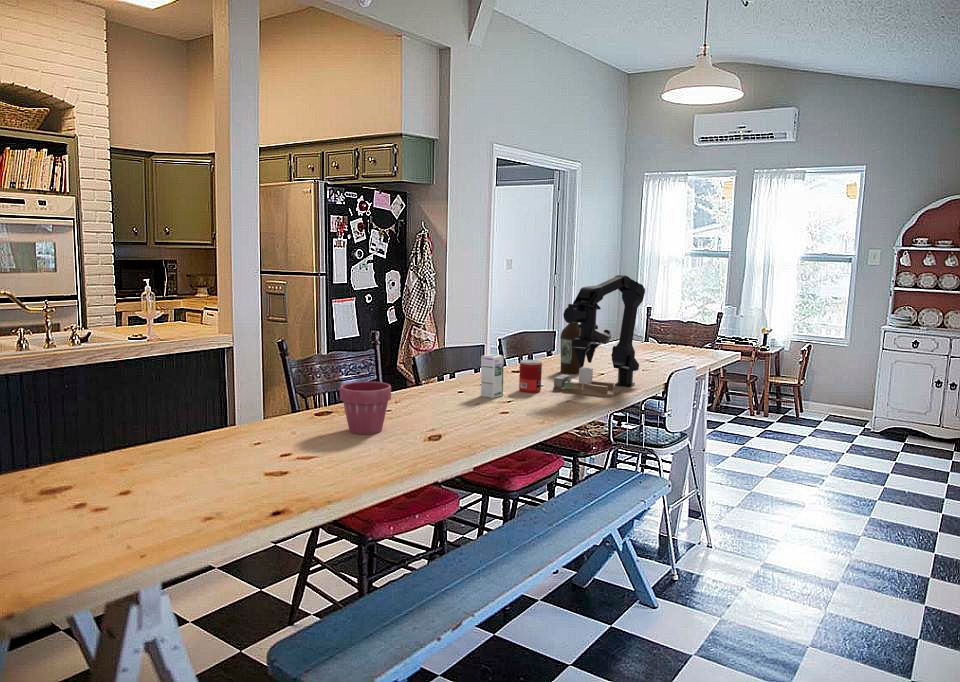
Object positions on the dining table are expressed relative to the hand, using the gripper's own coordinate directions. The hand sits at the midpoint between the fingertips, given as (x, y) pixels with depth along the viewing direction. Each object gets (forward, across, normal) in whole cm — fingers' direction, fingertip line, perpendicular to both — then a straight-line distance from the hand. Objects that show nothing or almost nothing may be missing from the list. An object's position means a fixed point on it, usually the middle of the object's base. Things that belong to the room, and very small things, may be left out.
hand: (585, 364), depth 263 cm
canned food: (+10, -11, +17) cm, 23 cm away
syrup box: (+10, -27, +25) cm, 38 cm away
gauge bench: (+10, 0, -1) cm, 10 cm away
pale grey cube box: (+9, -1, +2) cm, 9 cm away
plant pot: (+11, -89, +35) cm, 96 cm away
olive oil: (+10, +36, +17) cm, 41 cm away
